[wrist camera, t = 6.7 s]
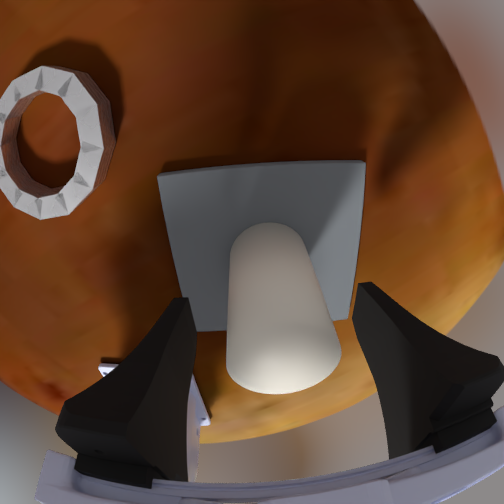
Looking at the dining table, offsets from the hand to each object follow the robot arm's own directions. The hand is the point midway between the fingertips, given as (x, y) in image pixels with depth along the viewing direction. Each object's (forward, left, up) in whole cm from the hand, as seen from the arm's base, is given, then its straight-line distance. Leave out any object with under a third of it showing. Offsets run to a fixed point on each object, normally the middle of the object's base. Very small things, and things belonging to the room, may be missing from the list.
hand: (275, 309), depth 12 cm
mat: (0, 0, -5) cm, 5 cm away
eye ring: (+8, +11, -5) cm, 14 cm away
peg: (0, 0, -4) cm, 4 cm away
